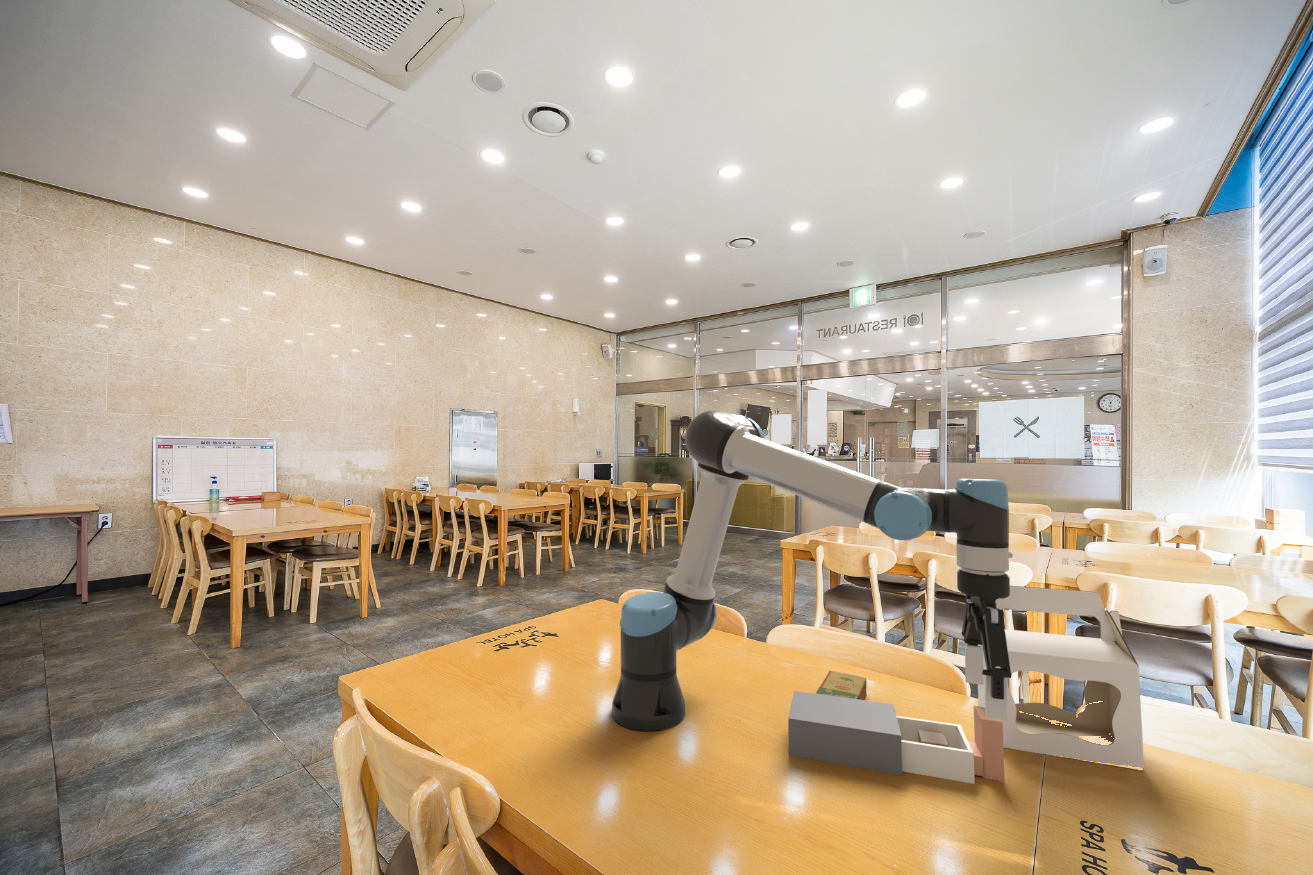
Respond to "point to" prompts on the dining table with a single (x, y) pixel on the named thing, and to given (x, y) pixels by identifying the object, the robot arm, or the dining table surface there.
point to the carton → (843, 686)
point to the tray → (954, 749)
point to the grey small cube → (932, 738)
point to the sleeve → (845, 732)
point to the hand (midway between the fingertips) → (984, 699)
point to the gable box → (1074, 659)
